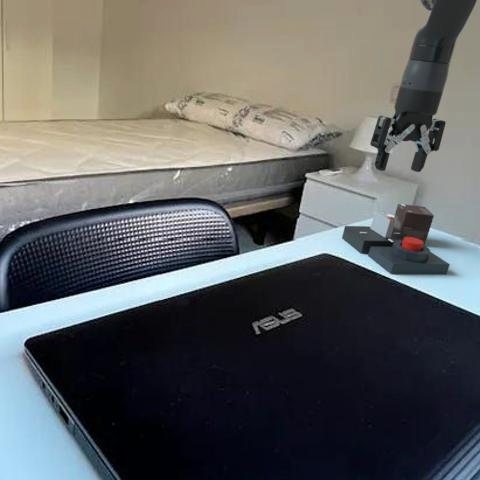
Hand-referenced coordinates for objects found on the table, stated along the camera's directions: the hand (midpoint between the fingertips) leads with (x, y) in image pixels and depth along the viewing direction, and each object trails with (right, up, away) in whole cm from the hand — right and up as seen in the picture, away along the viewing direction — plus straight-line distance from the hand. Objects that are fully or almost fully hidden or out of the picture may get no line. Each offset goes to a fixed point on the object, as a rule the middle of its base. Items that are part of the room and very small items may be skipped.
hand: (398, 170), depth 100 cm
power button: (+1, -16, -3) cm, 16 cm away
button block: (+1, -19, -2) cm, 19 cm away
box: (+7, -14, +12) cm, 20 cm away
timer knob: (-1, -13, +5) cm, 14 cm away
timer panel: (-2, -15, +6) cm, 17 cm away
